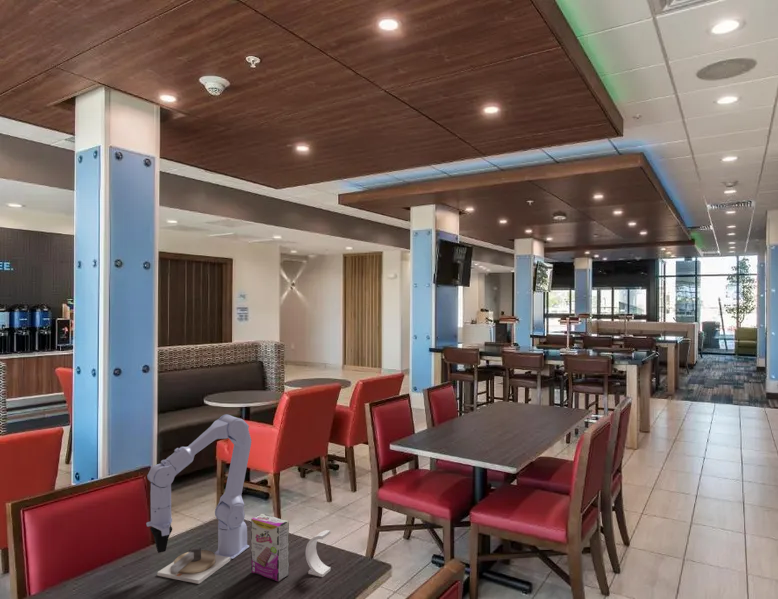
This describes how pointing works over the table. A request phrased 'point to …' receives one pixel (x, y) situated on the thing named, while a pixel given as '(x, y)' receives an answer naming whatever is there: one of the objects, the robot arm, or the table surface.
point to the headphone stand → (316, 556)
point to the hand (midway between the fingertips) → (161, 551)
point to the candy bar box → (270, 547)
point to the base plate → (194, 577)
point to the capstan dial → (193, 561)
